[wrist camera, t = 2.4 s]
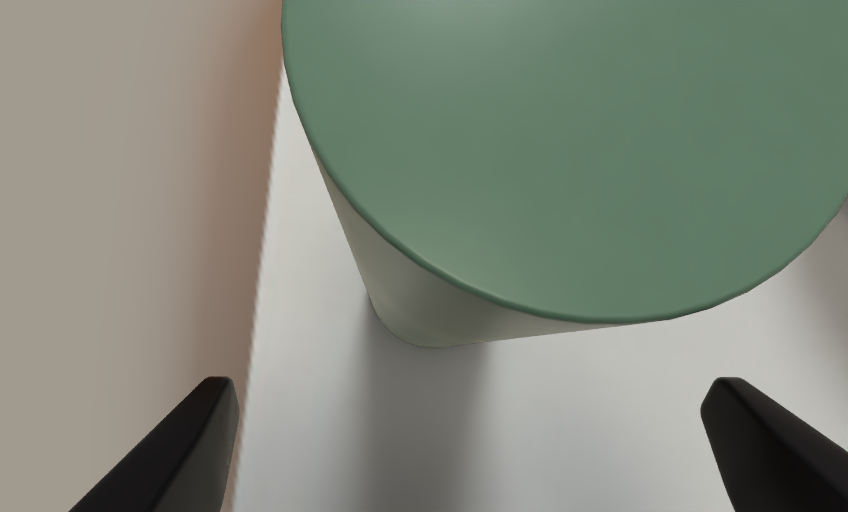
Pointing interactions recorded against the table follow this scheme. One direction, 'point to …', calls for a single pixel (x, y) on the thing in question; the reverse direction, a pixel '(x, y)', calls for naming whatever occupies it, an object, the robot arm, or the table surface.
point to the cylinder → (570, 153)
